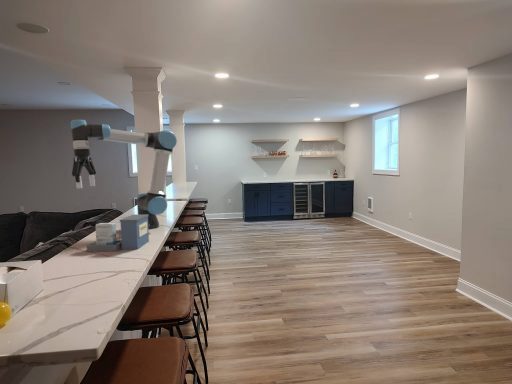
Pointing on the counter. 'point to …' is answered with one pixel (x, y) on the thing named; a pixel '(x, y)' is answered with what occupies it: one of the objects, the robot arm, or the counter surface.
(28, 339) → the counter surface
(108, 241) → the ink box
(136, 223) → the housing unit
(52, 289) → the counter surface
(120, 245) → the tray
